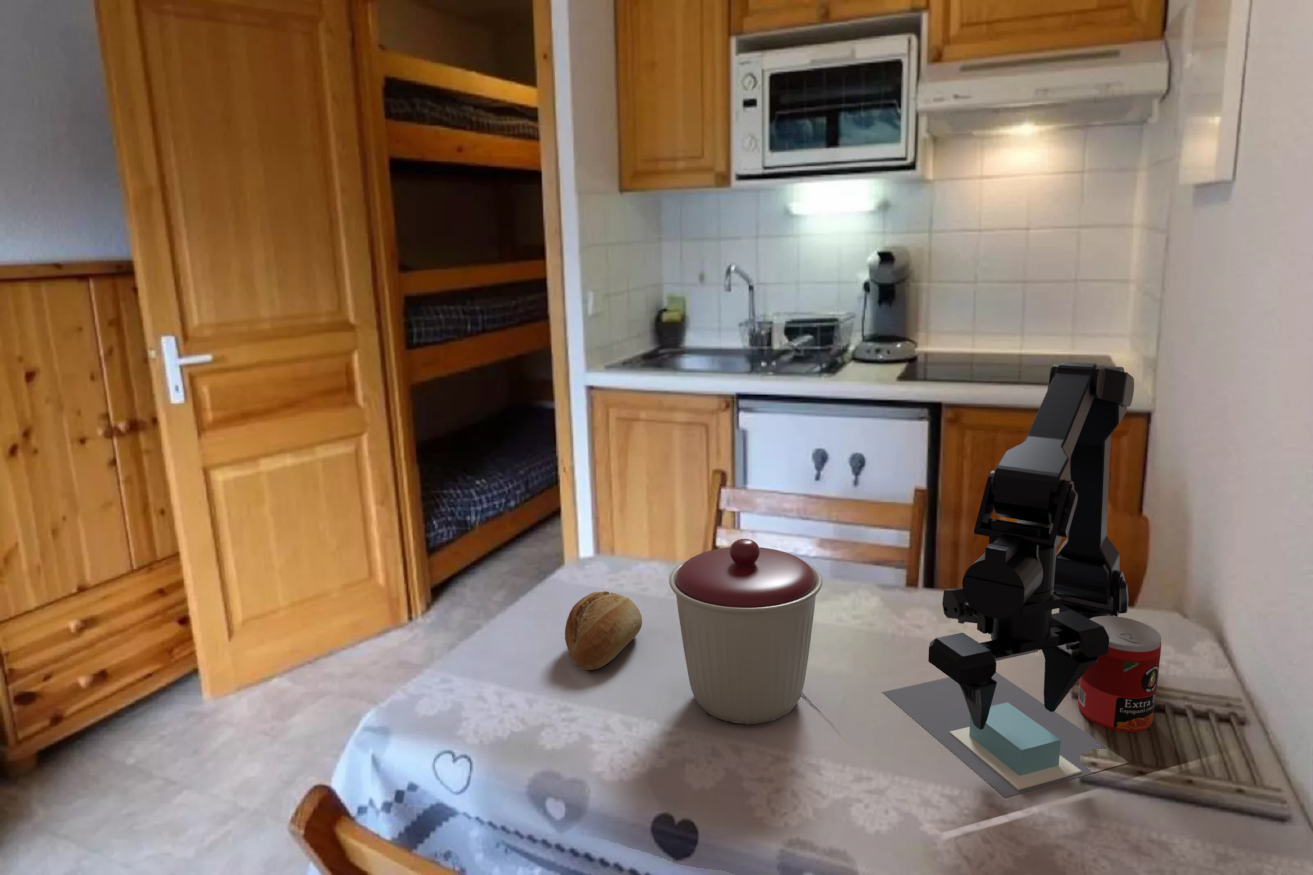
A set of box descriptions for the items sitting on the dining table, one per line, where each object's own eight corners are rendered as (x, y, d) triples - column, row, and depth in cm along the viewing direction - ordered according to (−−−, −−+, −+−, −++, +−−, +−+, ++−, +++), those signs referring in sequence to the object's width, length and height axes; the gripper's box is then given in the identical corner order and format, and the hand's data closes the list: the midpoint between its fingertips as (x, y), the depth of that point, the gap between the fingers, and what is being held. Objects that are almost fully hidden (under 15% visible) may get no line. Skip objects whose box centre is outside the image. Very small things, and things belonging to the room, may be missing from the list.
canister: (651, 727, 102) (644, 559, 97) (700, 657, 118) (696, 510, 113) (803, 756, 95) (804, 577, 90) (833, 678, 112) (835, 522, 107)
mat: (989, 671, 112) (990, 666, 112) (1130, 766, 91) (1130, 760, 91) (882, 695, 107) (882, 690, 107) (1004, 802, 87) (1005, 795, 86)
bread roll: (549, 672, 116) (545, 617, 114) (592, 625, 130) (589, 575, 128) (616, 682, 113) (613, 625, 111) (653, 632, 127) (651, 581, 125)
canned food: (1124, 744, 95) (1133, 652, 93) (1061, 710, 102) (1068, 624, 100) (1168, 724, 99) (1178, 635, 96) (1104, 693, 106) (1112, 609, 103)
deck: (1058, 765, 91) (1060, 739, 90) (1019, 776, 89) (1021, 750, 89) (1006, 726, 98) (1007, 702, 98) (969, 735, 97) (970, 711, 96)
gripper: (1040, 544, 99) (1031, 668, 103) (900, 569, 94) (896, 699, 97) (1118, 579, 89) (1106, 715, 93) (966, 609, 84) (959, 753, 87)
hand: (1014, 718), depth 93 cm, fingers open, 9 cm apart
